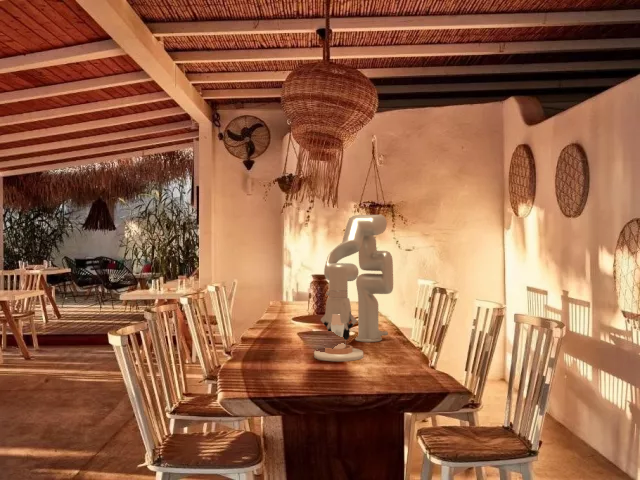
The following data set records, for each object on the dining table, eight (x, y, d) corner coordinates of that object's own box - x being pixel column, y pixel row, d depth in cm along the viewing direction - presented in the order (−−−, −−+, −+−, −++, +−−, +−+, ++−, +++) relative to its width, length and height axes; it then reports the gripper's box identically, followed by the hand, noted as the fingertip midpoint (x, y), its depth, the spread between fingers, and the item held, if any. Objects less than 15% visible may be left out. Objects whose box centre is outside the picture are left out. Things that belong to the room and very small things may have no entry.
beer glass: (342, 351, 242) (342, 314, 242) (327, 350, 245) (327, 313, 245) (350, 349, 248) (349, 312, 248) (334, 347, 251) (334, 311, 251)
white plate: (349, 350, 260) (349, 341, 260) (371, 358, 241) (371, 348, 241) (306, 354, 252) (306, 344, 252) (326, 363, 233) (326, 352, 233)
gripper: (315, 295, 246) (315, 339, 246) (355, 296, 240) (355, 341, 240) (322, 293, 253) (322, 336, 253) (361, 294, 247) (361, 338, 247)
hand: (338, 338), depth 247 cm, fingers closed on beer glass, 6 cm apart
